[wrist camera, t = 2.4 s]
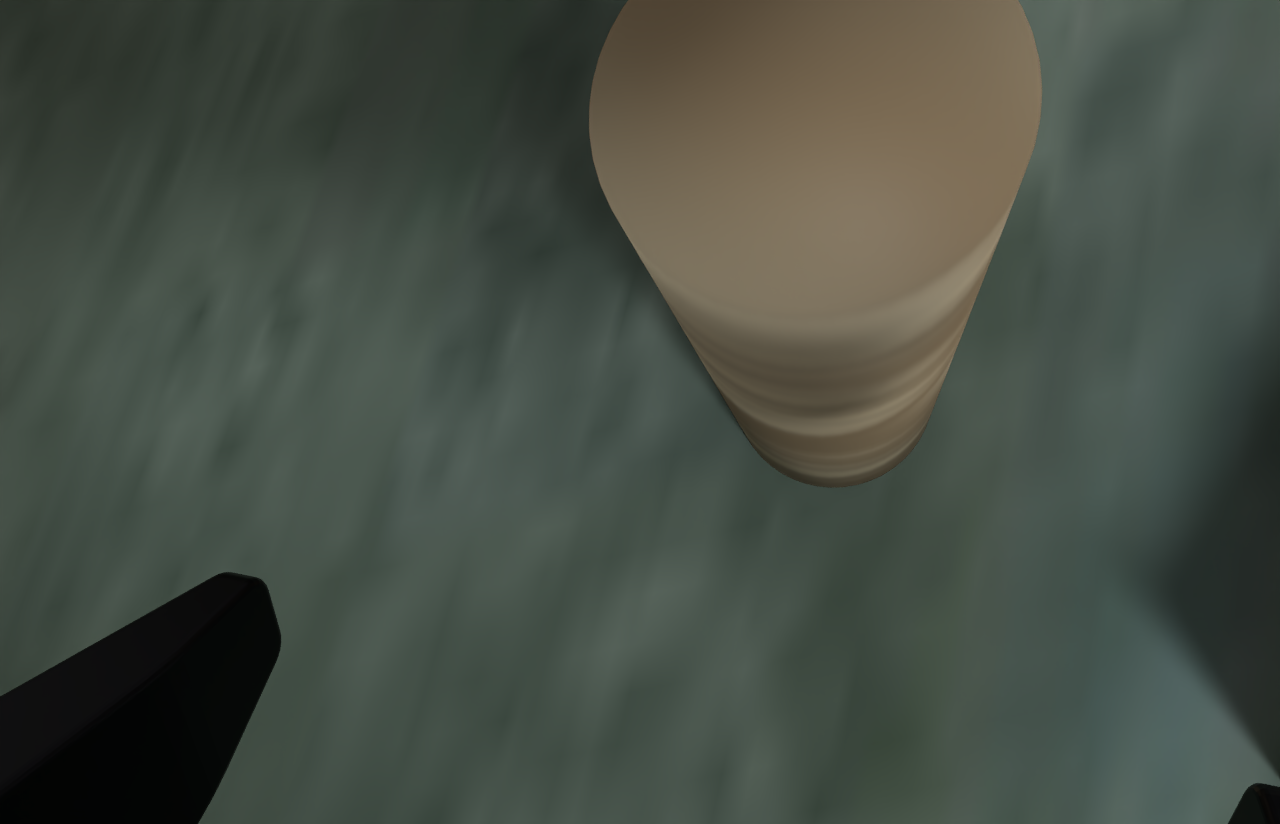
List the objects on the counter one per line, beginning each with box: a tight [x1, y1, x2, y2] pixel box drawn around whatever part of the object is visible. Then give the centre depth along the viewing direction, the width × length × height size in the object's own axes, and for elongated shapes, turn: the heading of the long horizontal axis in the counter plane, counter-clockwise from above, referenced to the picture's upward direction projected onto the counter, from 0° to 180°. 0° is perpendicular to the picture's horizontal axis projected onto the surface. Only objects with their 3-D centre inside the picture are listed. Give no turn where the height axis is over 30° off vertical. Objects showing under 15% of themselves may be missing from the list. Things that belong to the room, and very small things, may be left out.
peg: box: [589, 0, 1042, 487], centre depth 16 cm, size 4×4×13 cm
